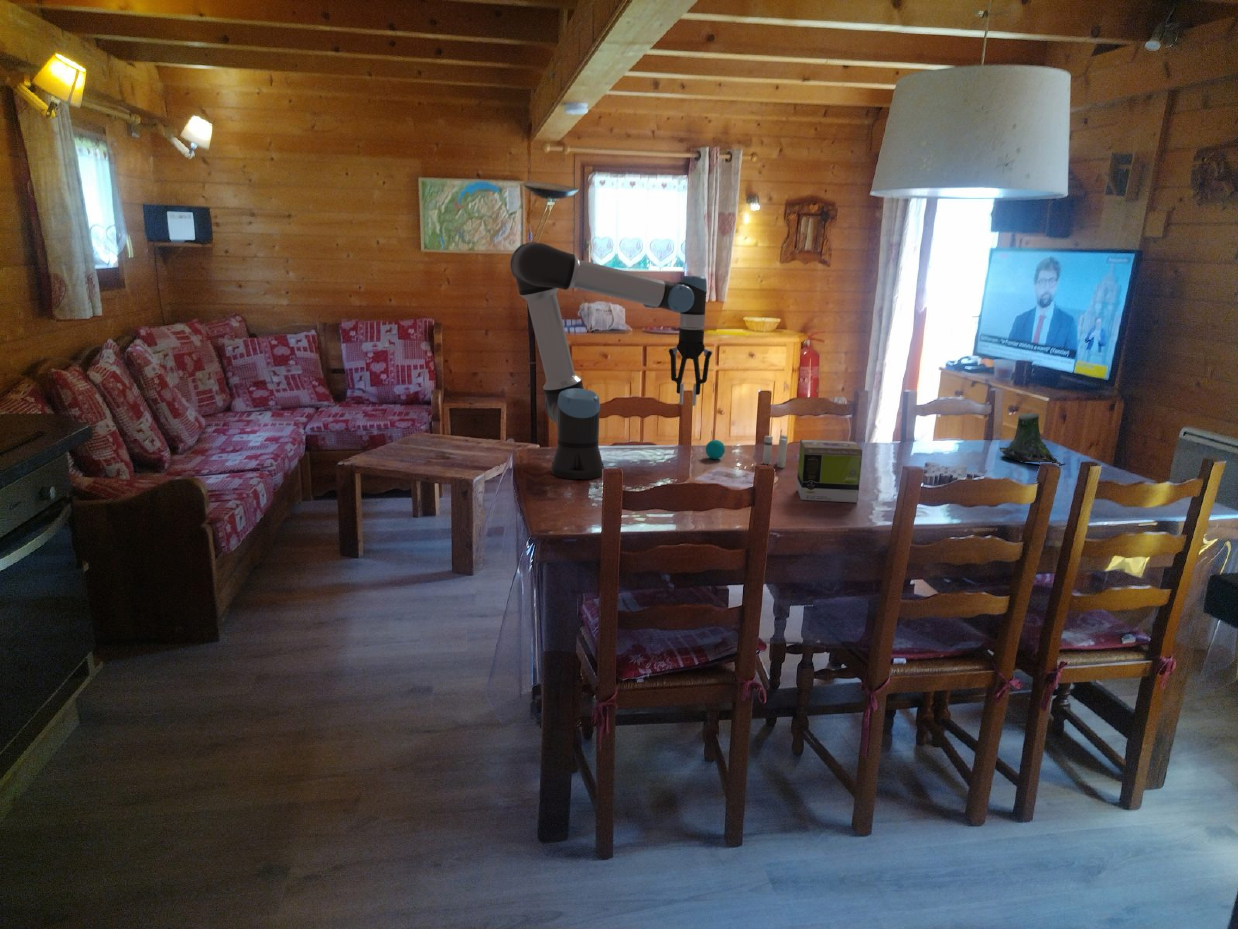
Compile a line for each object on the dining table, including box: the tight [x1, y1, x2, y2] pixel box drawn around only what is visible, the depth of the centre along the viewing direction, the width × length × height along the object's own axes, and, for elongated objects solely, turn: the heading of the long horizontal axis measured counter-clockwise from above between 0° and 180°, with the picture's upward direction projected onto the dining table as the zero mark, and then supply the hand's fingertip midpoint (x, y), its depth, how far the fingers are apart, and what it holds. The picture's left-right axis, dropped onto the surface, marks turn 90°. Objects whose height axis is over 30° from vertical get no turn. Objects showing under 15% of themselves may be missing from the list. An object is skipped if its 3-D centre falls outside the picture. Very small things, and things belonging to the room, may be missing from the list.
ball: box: [705, 439, 726, 460], centre depth 252 cm, size 6×6×6 cm
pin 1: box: [779, 434, 789, 462], centre depth 250 cm, size 2×2×8 cm
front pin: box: [762, 435, 773, 465], centre depth 248 cm, size 2×2×8 cm
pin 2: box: [776, 438, 788, 469], centre depth 245 cm, size 2×2×8 cm
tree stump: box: [999, 412, 1062, 466], centre depth 263 cm, size 18×20×18 cm
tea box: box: [796, 439, 863, 504], centre depth 216 cm, size 15×10×15 cm, turn 84°
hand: (687, 404), depth 251 cm, fingers open, 3 cm apart
